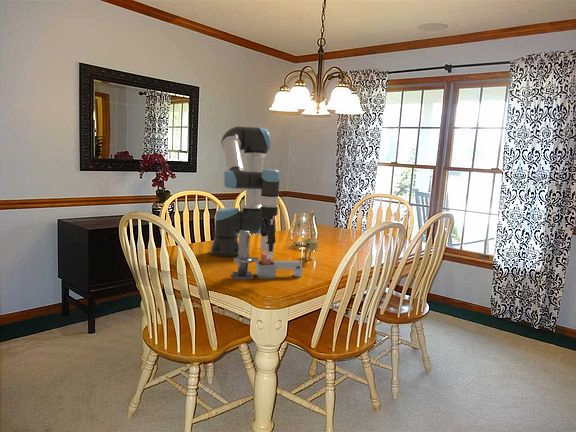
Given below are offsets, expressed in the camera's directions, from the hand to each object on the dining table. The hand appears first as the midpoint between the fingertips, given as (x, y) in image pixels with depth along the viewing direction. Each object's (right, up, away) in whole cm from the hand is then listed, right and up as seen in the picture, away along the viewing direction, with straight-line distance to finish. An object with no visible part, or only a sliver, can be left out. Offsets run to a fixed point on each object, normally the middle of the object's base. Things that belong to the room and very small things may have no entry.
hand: (266, 254), depth 195 cm
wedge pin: (-1, -10, +2) cm, 10 cm away
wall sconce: (+19, -6, +33) cm, 39 cm away
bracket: (+5, -10, +3) cm, 12 cm away
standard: (-9, -9, -1) cm, 13 cm away
